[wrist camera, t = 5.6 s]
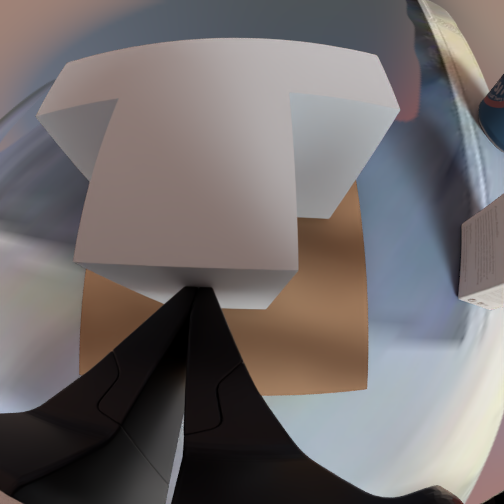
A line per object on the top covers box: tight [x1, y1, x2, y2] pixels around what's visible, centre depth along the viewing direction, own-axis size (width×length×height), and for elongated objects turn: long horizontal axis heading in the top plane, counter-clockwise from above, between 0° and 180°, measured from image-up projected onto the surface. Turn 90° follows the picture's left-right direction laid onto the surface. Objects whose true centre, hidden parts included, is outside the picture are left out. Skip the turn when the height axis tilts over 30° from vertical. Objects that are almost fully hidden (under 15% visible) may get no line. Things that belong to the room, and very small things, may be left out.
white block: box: [36, 38, 400, 309], centre depth 11 cm, size 8×12×9 cm, turn 89°
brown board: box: [79, 180, 368, 396], centre depth 16 cm, size 18×16×1 cm
